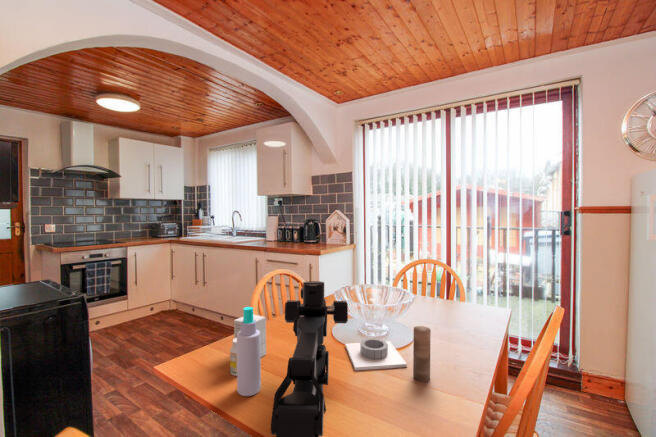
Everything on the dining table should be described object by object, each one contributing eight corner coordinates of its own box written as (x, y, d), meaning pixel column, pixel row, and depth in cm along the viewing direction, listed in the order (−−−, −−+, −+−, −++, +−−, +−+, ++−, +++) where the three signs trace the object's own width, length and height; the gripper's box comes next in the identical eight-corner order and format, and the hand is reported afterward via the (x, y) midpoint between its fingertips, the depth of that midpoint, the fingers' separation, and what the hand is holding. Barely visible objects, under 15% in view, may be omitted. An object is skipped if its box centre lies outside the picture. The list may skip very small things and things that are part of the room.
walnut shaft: (433, 381, 85) (433, 331, 85) (417, 382, 85) (417, 332, 84) (425, 372, 90) (426, 325, 89) (410, 373, 89) (411, 326, 89)
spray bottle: (261, 382, 85) (260, 304, 84) (259, 396, 79) (259, 311, 78) (239, 384, 84) (238, 305, 83) (235, 398, 78) (234, 312, 77)
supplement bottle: (228, 376, 88) (227, 343, 87) (232, 367, 93) (232, 336, 93) (247, 375, 88) (247, 343, 88) (250, 366, 93) (250, 335, 93)
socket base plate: (406, 367, 93) (406, 354, 93) (355, 370, 91) (355, 357, 91) (389, 343, 109) (389, 332, 109) (345, 346, 107) (345, 335, 107)
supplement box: (250, 349, 105) (250, 312, 104) (266, 354, 101) (266, 316, 100) (233, 358, 99) (233, 319, 98) (250, 364, 95) (249, 324, 94)
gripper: (348, 289, 85) (346, 280, 100) (281, 288, 85) (290, 280, 101) (348, 330, 84) (346, 315, 99) (280, 329, 85) (289, 314, 100)
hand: (318, 305), depth 100 cm, fingers open, 9 cm apart
